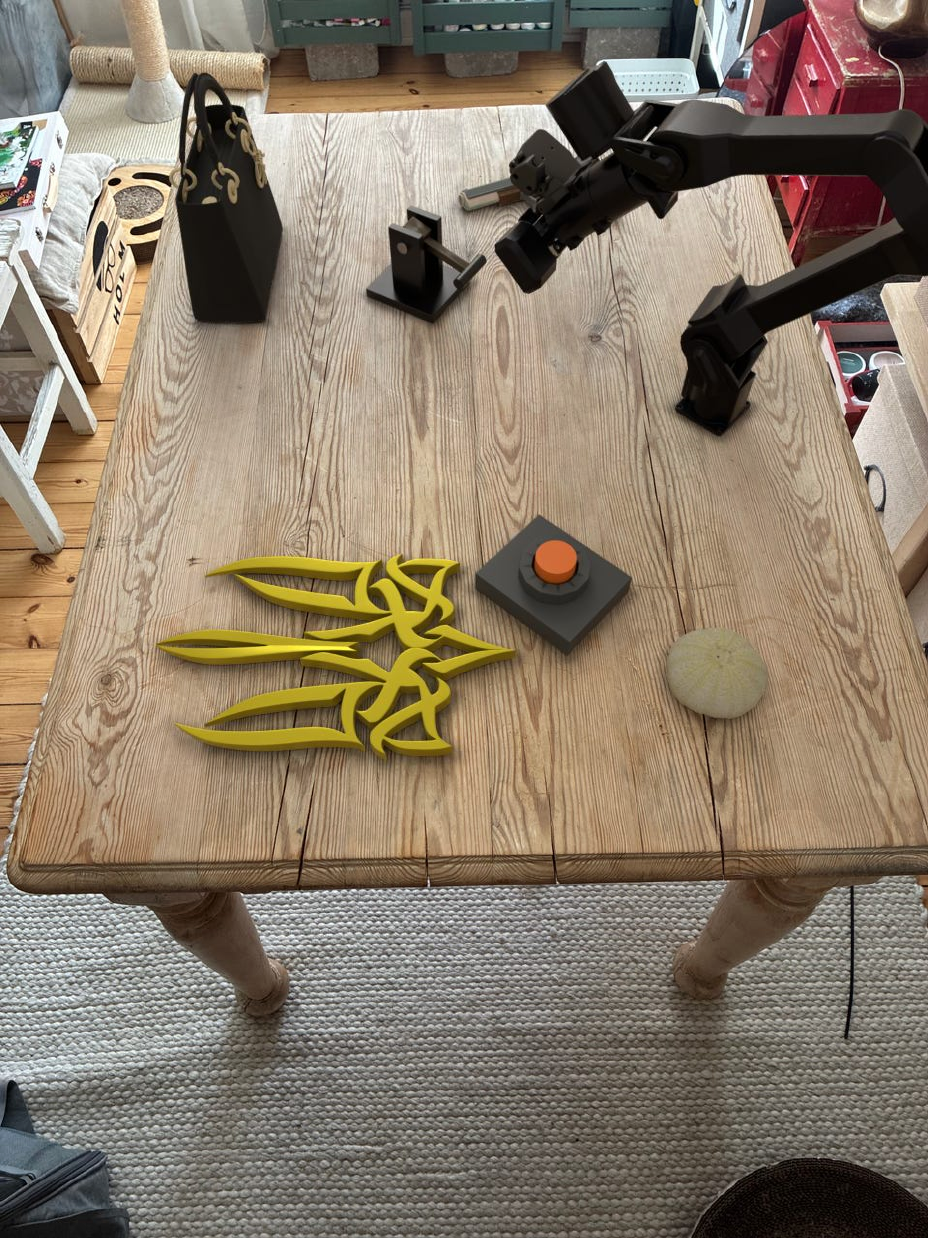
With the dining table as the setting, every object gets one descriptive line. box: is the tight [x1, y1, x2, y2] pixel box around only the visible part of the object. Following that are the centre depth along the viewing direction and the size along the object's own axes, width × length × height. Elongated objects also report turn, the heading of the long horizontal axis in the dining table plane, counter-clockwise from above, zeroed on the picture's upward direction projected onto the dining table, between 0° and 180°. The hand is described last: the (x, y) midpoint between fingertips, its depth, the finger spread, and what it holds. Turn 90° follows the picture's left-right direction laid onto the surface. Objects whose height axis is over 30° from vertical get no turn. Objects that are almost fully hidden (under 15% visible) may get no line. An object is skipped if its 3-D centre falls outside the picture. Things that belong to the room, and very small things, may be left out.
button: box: [535, 540, 577, 584], centre depth 91 cm, size 4×4×2 cm
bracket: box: [365, 205, 471, 324], centre depth 115 cm, size 10×9×10 cm
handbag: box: [168, 72, 284, 324], centre depth 110 cm, size 21×9×25 cm, turn 179°
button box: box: [474, 514, 633, 657], centre depth 93 cm, size 12×10×4 cm
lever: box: [402, 217, 488, 290], centre depth 112 cm, size 10×6×2 cm, turn 59°
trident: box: [155, 553, 517, 762], centre depth 90 cm, size 22×2×35 cm
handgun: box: [458, 176, 538, 213], centre depth 127 cm, size 2×20×12 cm
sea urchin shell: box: [665, 626, 769, 720], centre depth 88 cm, size 9×8×8 cm
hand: (509, 250), depth 107 cm, fingers closed
